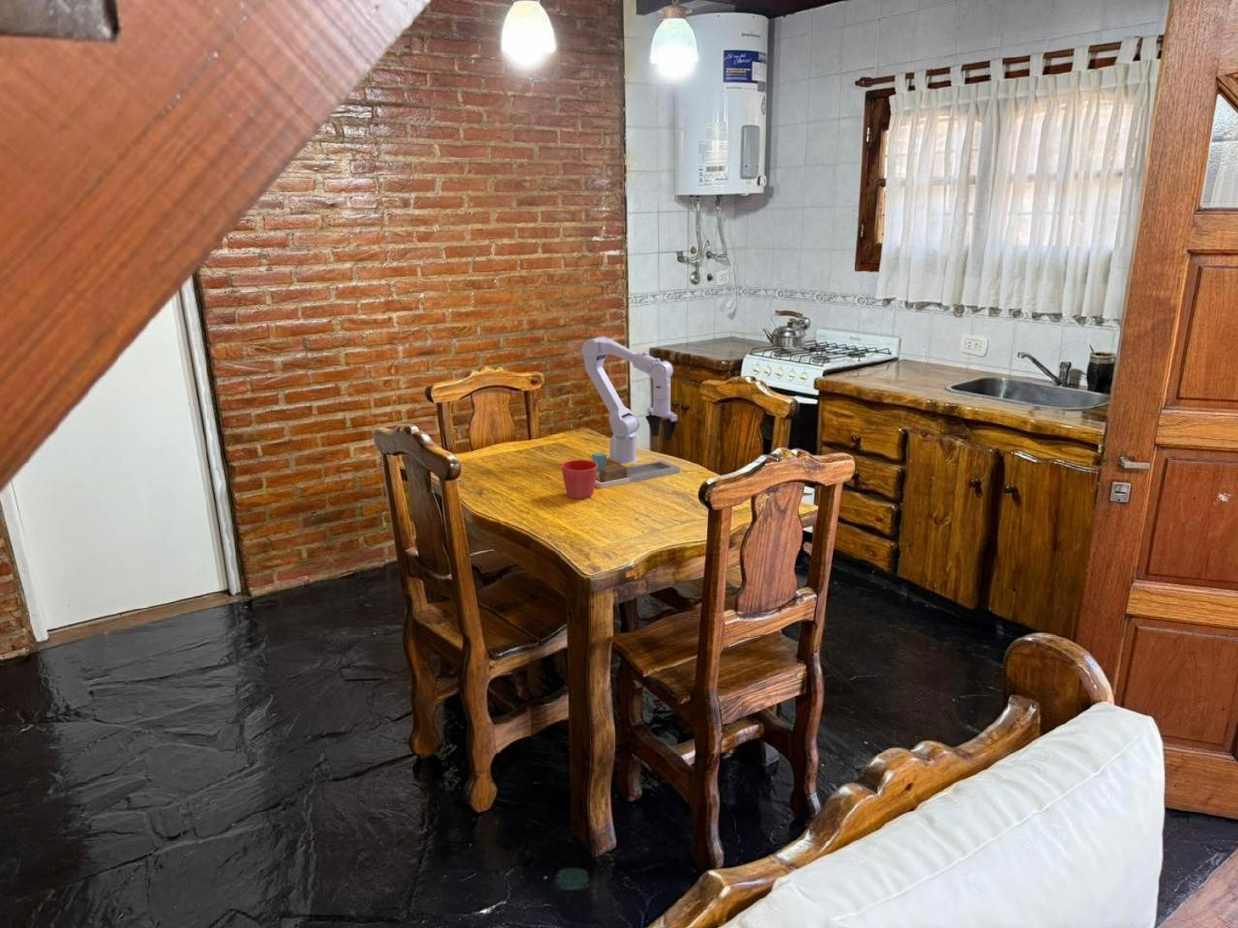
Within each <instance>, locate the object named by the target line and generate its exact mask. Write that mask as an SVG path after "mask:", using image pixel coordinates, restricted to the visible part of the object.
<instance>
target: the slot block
mask: <svg viewBox="0 0 1238 928" xmlns="http://www.w3.org/2000/svg"><path fill="white" fill-rule="evenodd" d="M626 467H627V478H628V477H629V478H630V483H634V482H639V481H640V482H641V481H644V480H649V479H654V478H660V477H664V476H669V475H674V474H679V473H681V467H680V466H678V465H675V464H673V463H670V462H668V461H665V460H663V459H661V460H656V461H655V460H654V461H652V462H646V463H640V464H635V465H629V466H626Z"/></svg>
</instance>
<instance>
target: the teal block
mask: <svg viewBox="0 0 1238 928" xmlns="http://www.w3.org/2000/svg"><path fill="white" fill-rule="evenodd" d="M591 458H592V459H591V461H592V462H595V463H596V464H597V465H598V467H597V473H599V469H601V468H606V467H608V465H607V464H608V455H607V454H606V453H604V452H595V453H592V457H591Z"/></svg>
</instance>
